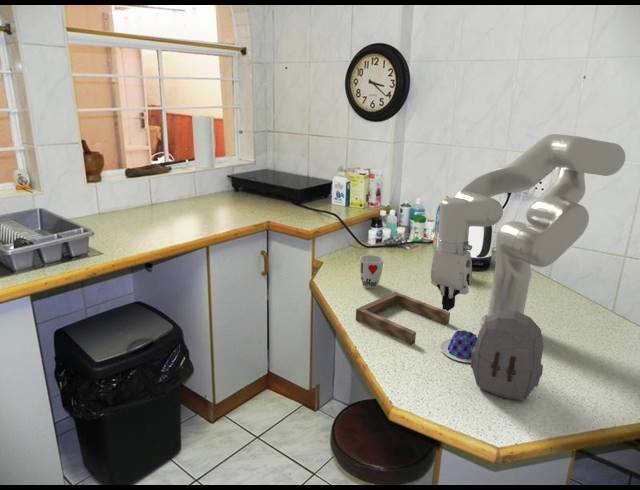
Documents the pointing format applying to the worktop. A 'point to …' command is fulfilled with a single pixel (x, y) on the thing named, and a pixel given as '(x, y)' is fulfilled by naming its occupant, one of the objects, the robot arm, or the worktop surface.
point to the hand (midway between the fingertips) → (447, 308)
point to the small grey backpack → (508, 355)
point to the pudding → (460, 345)
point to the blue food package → (437, 226)
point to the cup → (370, 270)
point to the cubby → (370, 318)
